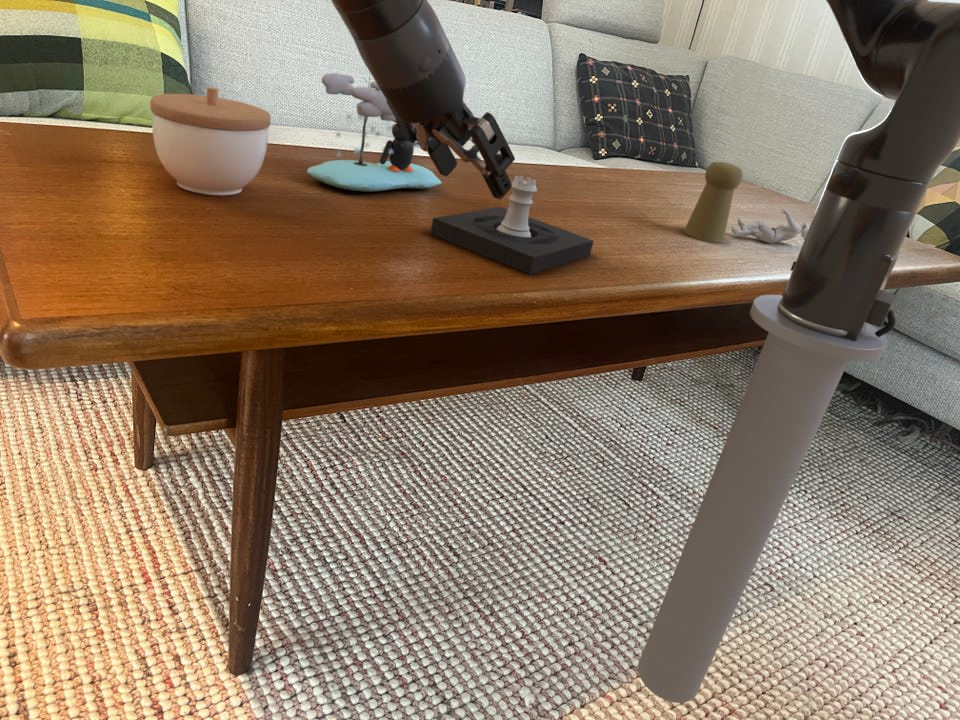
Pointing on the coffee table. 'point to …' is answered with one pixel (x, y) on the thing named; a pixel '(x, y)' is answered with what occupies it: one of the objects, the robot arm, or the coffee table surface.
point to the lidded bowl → (209, 141)
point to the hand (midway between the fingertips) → (475, 181)
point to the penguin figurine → (368, 173)
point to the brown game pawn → (714, 203)
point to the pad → (512, 240)
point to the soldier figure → (772, 230)
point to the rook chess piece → (519, 208)
